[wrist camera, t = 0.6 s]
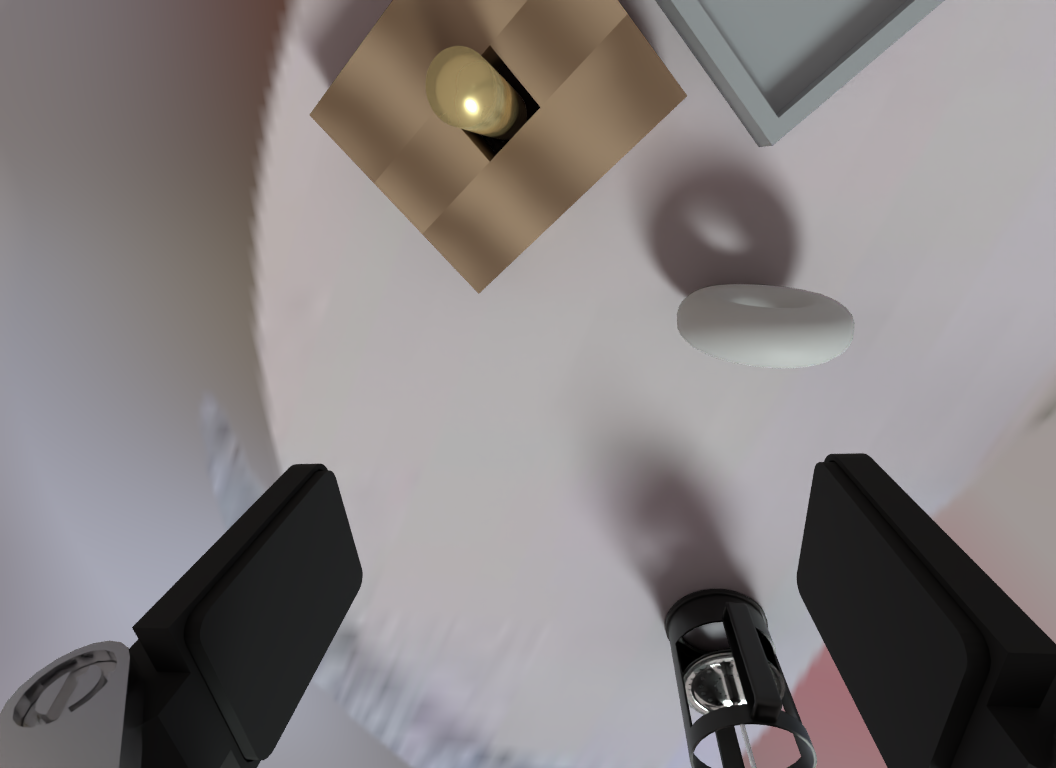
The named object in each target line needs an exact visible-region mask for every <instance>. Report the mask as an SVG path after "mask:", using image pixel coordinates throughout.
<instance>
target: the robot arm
mask: <svg viewBox="0 0 1056 768" xmlns="http://www.w3.org/2000/svg"><path fill="white" fill-rule="evenodd" d="M361 583H362V568H361V564H360V561H359V557H358V554H357V550H356V547H355V543H354V540H353V536H352V533H351V529H350V526H349V522H348V519H347V515H346V512H345V508H344V505H343V501H342V498H341V494H340V491H339V487H338V484H337V480H336V477H335V475H334V473H333V472H332V471H328V470H327V468H326V467H325V466H324V465H323V464H295V465H292V466H291V467H290V468H288V470H287V471H286V472H285V473H284V474H283V475H282V476H281V477H280V478H279V479H278V480H277V481H276V482H275V483H274V484H273V485H272V486H271V487H270V488H269V489H268V490H267V491H266V492H265V493H264V494H263V495H262V496H261V497H260V498H259V499H258V500H257V501H256V502H255V503H254V504H253V505H252V506H251V507H250V508H249V509H248V510H247V511H246V512H245V513H244V514H243V515H242V516H241V517H240V518H239V519H238V520H237V521H236V522H235V523H234V524H233V525H232V526H231V527H230V528H229V529H228V530H227V532H226V533H225V534H224V535H223V536H222V537H221V538H220V539H219V540H218V541H217V542H216V543H215V544H214V545H213V546H212V547H211V548H210V549H209V550H208V551H207V552H206V553H205V554H204V555H203V556H202V557H201V558H200V559H199V560H198V561H197V562H196V563H195V564H194V565H193V566H192V567H191V568H190V569H189V570H188V571H187V572H186V573H185V574H184V575H183V576H182V577H181V578H180V579H179V581H177V582H176V583H175V585H174V586H172V588H170V590H169V591H167V593H166V594H165V595H164V596H163V597H162V598H161V599H160V600H159V601H158V602H157V603H156V604H155V605H154V606H153V607H152V608H151V609H150V610H149V611H148V612H147V613H146V614H145V615H144V616H143V617H142V618H141V619H140V620H139V621H138V622H137V623H136V624H135V625H134V626H133V627H132V628H133V630H134V632H135V633H136V635H137V637H138V640H137V641H136V642H135V643H134V644H133V645H132V646H131V648H130V649H129V648H128V647H126V646H125V645H124V644H123V643H121V642H115V641H105V642H99V643H93V644H90V645H87V646H85V647H82V648H79V649H76V650H74V651H72V652H70V653H68V654H66V655H64V656H62V657H60V658H58V659H56V660H55V661H53V662H52V663H50V664H49V665H47V666H46V667H45V668H43V669H41V670H40V671H38V672H37V673H36V674H35V675H33V676H32V677H31V678H30V679H29V680H27V681H26V682H25V683H24V684H23V685H22V686H20V687H19V688H18V690H17V691H16V692H15V693H14V694H13V695H12V697H11V698H10V699H9V700H8V701H7V702H6V704H5V706H4V708H3V709H2V711H1V713H0V768H257V766H258V764H259V763H260V761H261V760H264V759H266V758H268V756H269V755H270V754H271V753H272V751H273V750H274V748H275V747H276V745H277V742H278V741H279V739H280V737H281V735H282V733H283V732H284V730H285V728H286V726H287V724H288V722H289V720H290V718H291V716H292V715H293V713H294V711H295V709H296V707H297V705H298V703H299V701H300V700H301V698H302V696H303V694H304V692H305V690H306V688H307V686H308V685H309V683H310V681H311V679H312V677H313V675H314V673H315V672H316V670H317V668H318V666H319V664H320V662H321V660H322V658H323V657H324V655H325V653H326V651H327V649H328V647H329V645H330V643H331V642H332V640H333V638H334V636H335V634H336V632H337V630H338V628H339V627H340V625H341V623H342V621H343V619H344V617H345V615H346V613H347V612H348V610H349V608H350V606H351V604H352V602H353V600H354V598H355V597H356V595H357V593H358V591H359V589H360V587H361ZM797 585H798V589H799V593H800V595H801V597H802V599H803V601H804V603H805V605H806V607H807V609H808V611H809V613H810V615H811V617H812V619H813V621H814V623H815V625H816V627H817V629H818V631H819V633H820V635H821V637H822V639H823V641H824V643H825V645H826V647H827V649H828V651H829V652H830V655H831V657H832V659H833V660H834V662H835V664H836V666H837V668H838V670H839V672H840V674H841V676H842V678H843V680H844V682H845V684H846V686H847V688H848V690H849V692H850V694H851V696H852V698H853V700H854V702H855V704H856V706H857V708H858V710H859V712H860V714H861V716H862V718H863V720H864V722H865V724H866V726H867V728H868V730H869V732H870V734H871V736H872V737H873V740H874V742H875V743H876V746H877V747H878V749H879V751H880V753H881V755H882V757H883V759H884V761H885V763H886V765H887V767H888V768H1056V644H1055V643H1054V642H1053V641H1052V640H1051V639H1050V638H1049V637H1048V636H1047V635H1046V634H1045V633H1044V632H1043V631H1042V630H1041V629H1040V628H1039V627H1038V626H1037V625H1036V624H1035V623H1034V622H1033V621H1032V620H1031V619H1030V618H1029V617H1028V616H1027V615H1026V614H1025V613H1024V612H1023V611H1022V610H1021V609H1020V607H1018V605H1017V604H1015V603H1014V602H1013V600H1012V599H1011V598H1010V597H1008V595H1007V594H1006V593H1005V592H1004V591H1003V590H1002V589H1001V588H1000V587H999V586H998V585H997V584H996V583H995V582H994V581H993V580H992V579H991V578H990V577H989V576H988V575H987V574H986V573H985V572H984V571H983V570H982V569H981V568H980V567H979V566H978V565H977V564H976V563H975V562H974V561H973V560H972V559H971V558H970V557H969V556H968V555H967V554H966V553H965V552H964V551H963V550H962V549H961V548H960V547H959V546H958V545H957V544H956V543H955V542H954V541H953V540H952V539H951V538H950V537H949V536H948V535H947V534H946V533H945V532H944V531H943V530H942V529H941V528H940V527H939V526H938V525H937V524H936V523H935V522H934V521H933V520H932V519H931V518H930V517H929V516H928V515H927V514H926V513H925V512H924V511H923V510H922V509H921V508H920V507H919V506H918V505H917V504H916V503H915V502H914V501H913V500H912V499H911V497H910V496H909V495H908V494H907V493H906V492H905V491H904V490H903V489H902V488H901V487H900V486H899V485H898V484H897V483H896V482H895V481H894V480H893V479H892V478H891V477H890V476H889V475H888V474H887V473H886V472H885V471H884V470H883V469H882V468H881V467H880V466H879V465H878V464H877V463H876V462H875V461H874V460H873V459H872V458H871V457H870V456H868V455H867V454H863V453H859V454H830V455H828V456H827V457H826V459H825V461H824V462H819V463H817V464H816V466H815V469H814V474H813V480H812V486H811V492H810V498H809V504H808V510H807V516H806V522H805V529H804V535H803V541H802V547H801V553H800V559H799V565H798V571H797Z"/></svg>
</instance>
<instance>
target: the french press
mask: <svg viewBox="0 0 1056 768" xmlns="http://www.w3.org/2000/svg"><path fill="white" fill-rule="evenodd" d="M714 622H723V625H724V628H725V632H726V635H727V639H728V642H729V646H730V649H728V650H720V651H716V652H705V651H701V650H698V649H696V648H694V647H692V646H690V645H689V644H687V643H686V642H685V641H684V640H683V638H682V637H683V636H684V635H685V634H687V633H688V632H689V631H691V630H693V629H694V628H697V627H699V626H702V625H705V624H709V623H714ZM665 629H666V634H667V637H668V639H669V641H670V645H671V651H672V657H673V663H674V668H675V674H676V680H677V686H678V692H679V698H680V704H681V710H682V716H683V721H684V727H685V733H686V739H687V745H688V751H689V757H690V762H691V766H692V768H711V767H709V766H707V765H705V764H704V763H703V762H701V761H700V760H699V759H698V758H697V757H696V756H695V755H694V753H693V752H694V750H695V748H696V746H697V745H698V744H699V742H700V741H701V740H702V739H704V738H705V737H706V736H708V735H709V734H711V733H713V732H715V733H716V738H717V742H718V747H719V751H720V756H721V760H722V765H723V768H745V767H744V763H743V759H742V755H741V751H740V747H739V743H738V740H737V736H736V732H735V728H734V726H736V725H740V727H741V731H742V734H743V738H744V742H745V746H746V749H747V753H748V757H749V760H750V764H751V768H756V764H755V761H754V757H753V754H752V750H751V746H750V743H749V739H748V736H747V732H746V728H745V725H744V724H759V725H768V726H773V727H778V728H781V729H784V730H787V731H789V732H791V733H793V734H794V737H795V740H796V743H797V746H798V748H799V751H800V754H801V758H800V759H799V760H798V761H797V762H796V763H794V764H792V765H791V766H790V767H788V768H815V767H816V763H817V758H816V753H815V750H814V748H813V745H812V743H811V740H810V737H809V735H808V733H807V731H806V729H805V727H804V726H803V725H802V722H801V720H800V717H799V714H798V712H797V709H796V707H795V704H794V701H793V698H792V696H791V693H790V691H789V688H788V685H787V683H786V680H785V678H784V675H783V672H782V670H781V667H780V664H779V662H778V659H777V657H776V651H775V647H774V644H773V641H772V639H771V636H770V634H769V631H768V624H767V619H766V616H765V614H764V612H763V610H762V609H761V608H760V606H759V605H758V604H757V603H756V602H755V601H753V600H752V599H751V598H749V597H747V596H745V595H743V594H741V593H738V592H735V591H730V590H725V589H710V590H702V591H698V592H695V593H692V594H690V595H687V596H685V597H684V598H682V599H681V600H679V601H678V602H677V603H676V604H675V605H673V606H672V608H671V609H670V611H669V612H668V615H667V617H666V621H665ZM688 704H689V705H690V706H691V707H692V708H693V709H695V710H696V711H697V712H699V713H701V714H703V716H702V717H701V718H699V719H698V720H697V721H696V722H695V723H694V724H693V725H692V721H691V716H690V710H689V705H688ZM782 704H783V707H784V710H785V712H784V711H781V709H782Z"/></svg>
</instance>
